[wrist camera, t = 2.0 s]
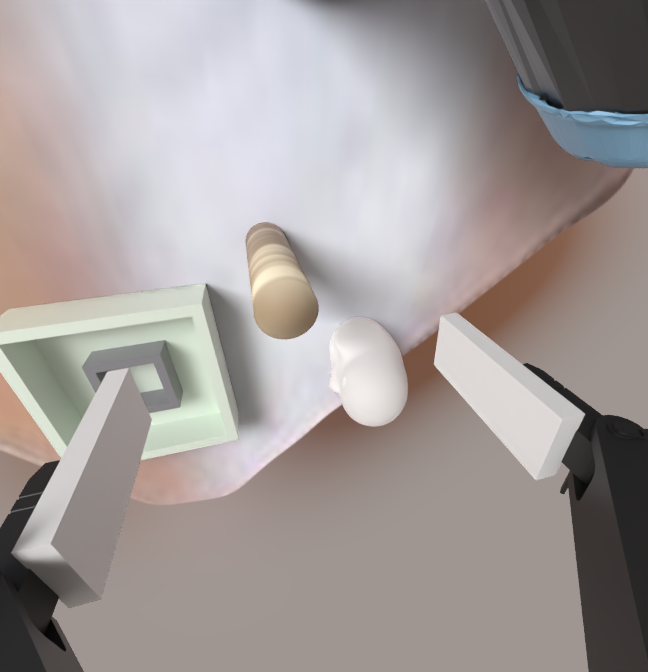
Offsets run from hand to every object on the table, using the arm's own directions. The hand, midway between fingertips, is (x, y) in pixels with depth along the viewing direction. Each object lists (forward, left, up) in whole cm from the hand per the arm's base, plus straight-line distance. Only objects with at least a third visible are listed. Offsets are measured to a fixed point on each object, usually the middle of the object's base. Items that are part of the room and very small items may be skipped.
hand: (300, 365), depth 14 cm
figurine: (+12, +8, -19) cm, 24 cm away
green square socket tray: (+11, -14, -19) cm, 26 cm away
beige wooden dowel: (0, 0, -19) cm, 19 cm away
